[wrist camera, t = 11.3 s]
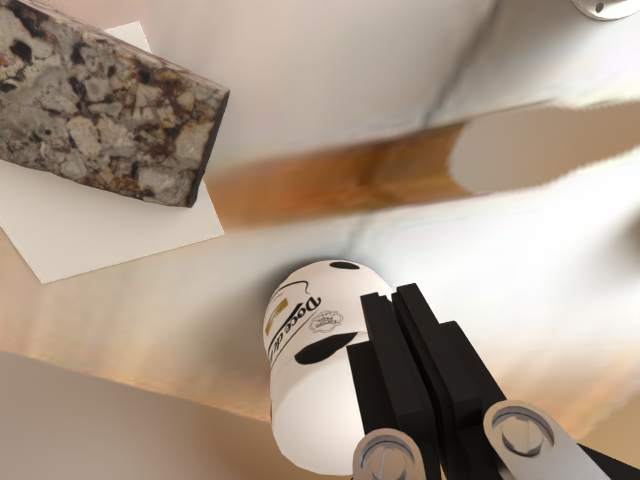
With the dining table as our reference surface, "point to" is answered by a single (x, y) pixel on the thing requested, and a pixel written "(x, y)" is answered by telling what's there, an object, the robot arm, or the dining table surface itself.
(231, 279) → the dining table surface
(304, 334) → the milk container
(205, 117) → the stone block
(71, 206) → the mat
